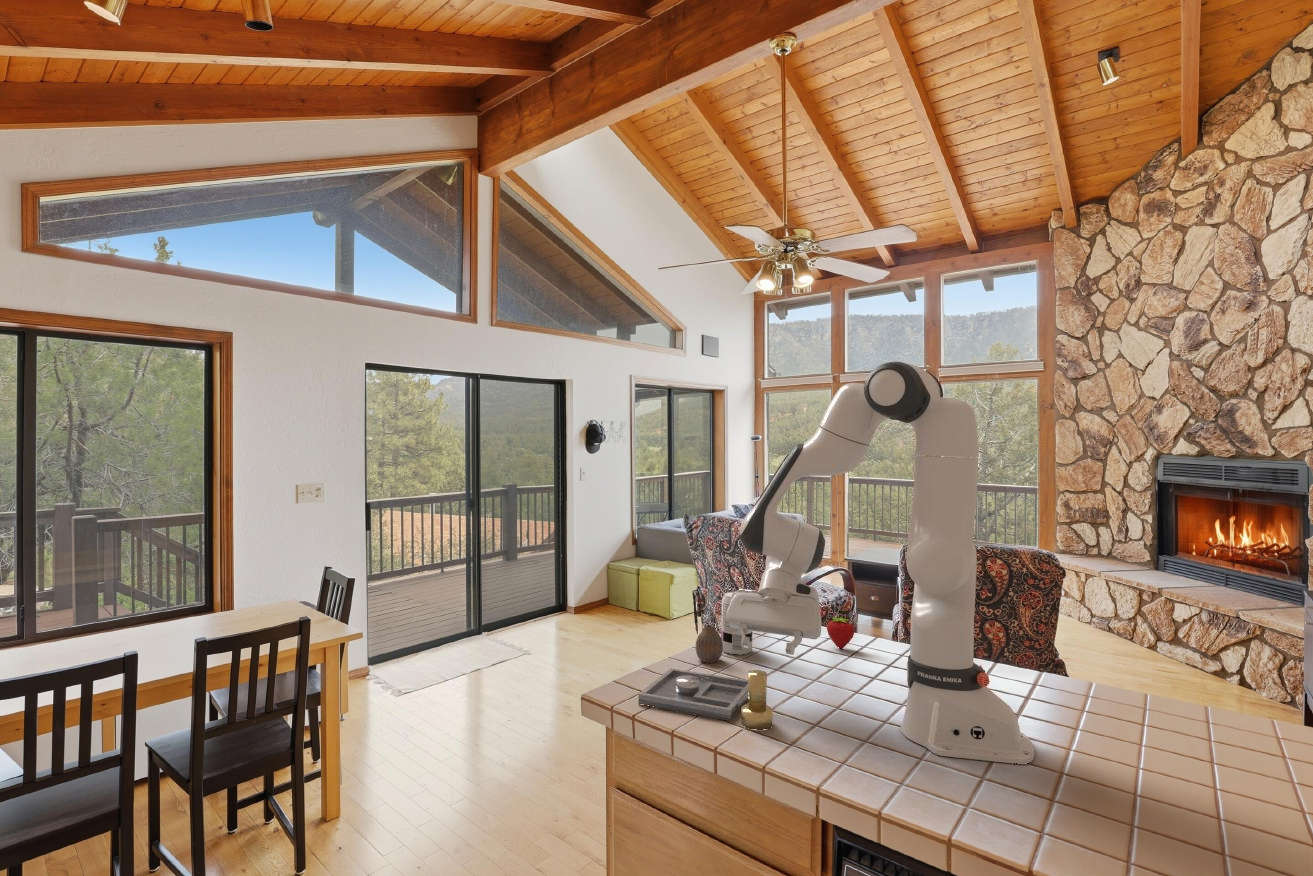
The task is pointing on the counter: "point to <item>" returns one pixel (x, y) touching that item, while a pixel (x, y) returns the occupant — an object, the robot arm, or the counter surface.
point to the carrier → (697, 694)
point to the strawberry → (840, 631)
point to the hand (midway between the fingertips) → (766, 649)
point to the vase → (709, 645)
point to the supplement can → (732, 632)
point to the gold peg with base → (756, 703)
